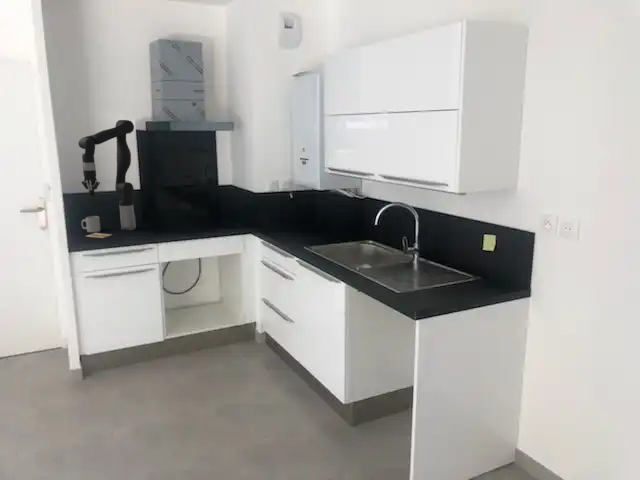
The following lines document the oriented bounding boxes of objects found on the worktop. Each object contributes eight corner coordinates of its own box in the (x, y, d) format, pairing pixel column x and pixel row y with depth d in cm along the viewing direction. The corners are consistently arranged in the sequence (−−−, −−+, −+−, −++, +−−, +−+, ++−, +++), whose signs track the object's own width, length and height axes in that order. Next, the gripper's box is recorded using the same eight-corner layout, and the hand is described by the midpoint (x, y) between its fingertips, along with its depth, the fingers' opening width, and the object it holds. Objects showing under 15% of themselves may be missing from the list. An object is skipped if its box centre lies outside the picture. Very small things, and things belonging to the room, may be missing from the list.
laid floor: (95, 235, 352) (95, 232, 352) (113, 236, 348) (113, 234, 348) (84, 238, 342) (84, 236, 341) (102, 240, 338) (102, 238, 338)
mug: (102, 231, 363) (101, 215, 360) (98, 234, 354) (96, 218, 352) (84, 231, 362) (83, 216, 359) (80, 234, 354) (78, 218, 351)
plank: (95, 234, 351) (95, 232, 351) (104, 235, 350) (104, 233, 349) (85, 237, 342) (85, 235, 342) (94, 238, 340) (94, 237, 340)
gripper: (101, 169, 341) (104, 195, 345) (84, 168, 344) (87, 194, 348) (94, 170, 334) (96, 197, 338) (76, 169, 337) (79, 196, 341)
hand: (92, 195), depth 343 cm, fingers closed
